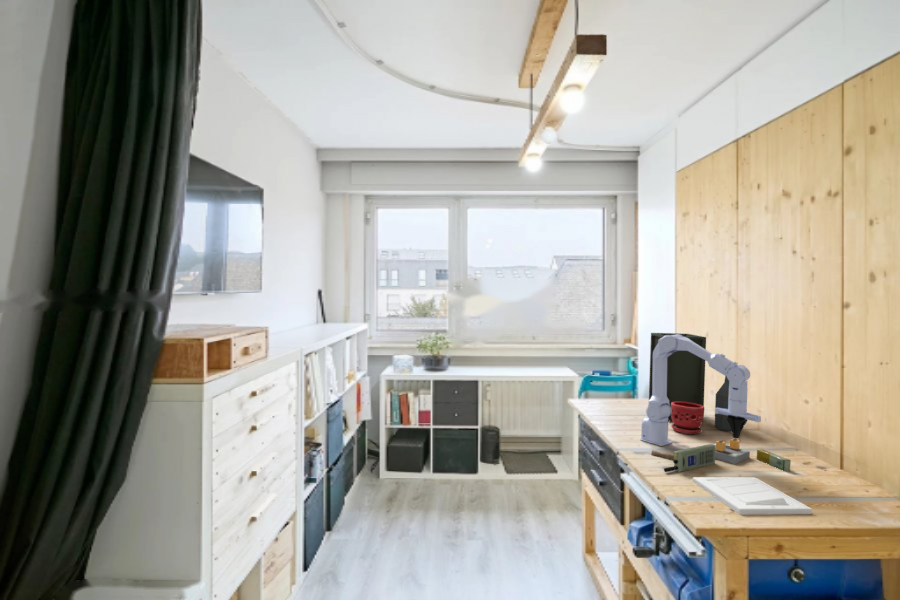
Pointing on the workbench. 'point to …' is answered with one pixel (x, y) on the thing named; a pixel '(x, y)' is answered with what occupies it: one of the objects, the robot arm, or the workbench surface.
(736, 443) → the breaker
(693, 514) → the workbench surface
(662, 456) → the wooden dowel
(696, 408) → the plant pot
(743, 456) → the box
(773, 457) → the medication box
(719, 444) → the breaker
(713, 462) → the handheld radio
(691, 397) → the tall dark green cabinet
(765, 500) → the vent cover
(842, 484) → the workbench surface
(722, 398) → the bottle
